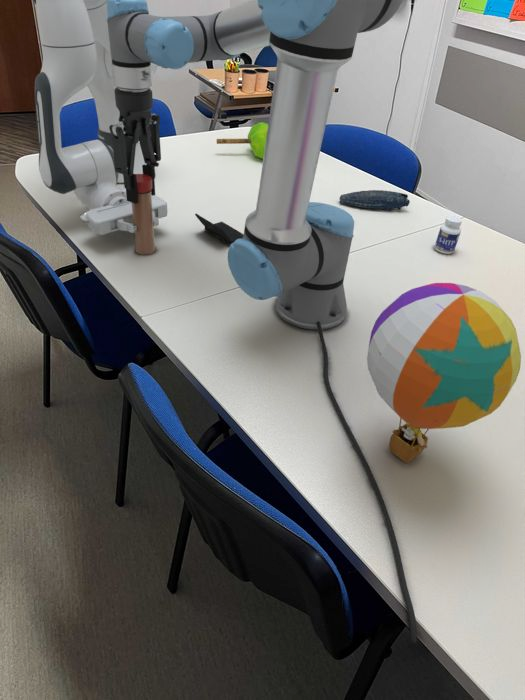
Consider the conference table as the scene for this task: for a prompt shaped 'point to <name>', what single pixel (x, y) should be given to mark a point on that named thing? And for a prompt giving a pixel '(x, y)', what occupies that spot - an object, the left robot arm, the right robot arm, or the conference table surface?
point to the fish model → (376, 199)
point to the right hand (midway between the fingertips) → (141, 197)
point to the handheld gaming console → (221, 230)
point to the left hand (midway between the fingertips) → (145, 226)
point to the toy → (441, 360)
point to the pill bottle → (448, 235)
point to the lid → (144, 182)
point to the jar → (144, 223)
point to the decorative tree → (252, 139)
